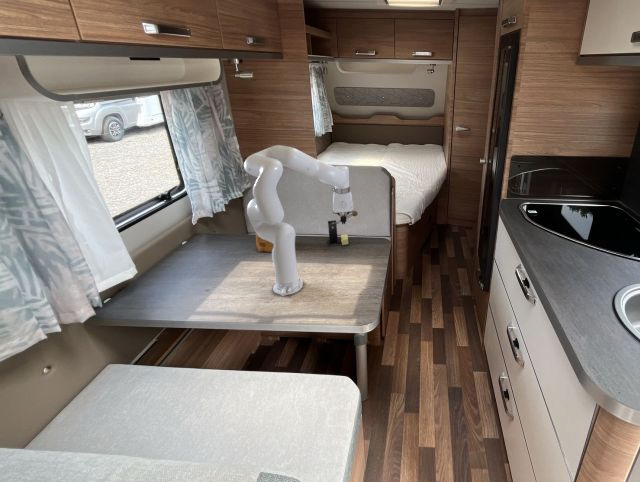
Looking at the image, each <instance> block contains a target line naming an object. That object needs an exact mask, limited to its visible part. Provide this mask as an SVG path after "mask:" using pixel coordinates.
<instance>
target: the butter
mask: <svg viewBox="0 0 640 482" xmlns="http://www.w3.org/2000/svg"><path fill="white" fill-rule="evenodd" d="M340 240H341V241H340V242H341V246H344V245H349V236H348V233H342V234H340Z"/></svg>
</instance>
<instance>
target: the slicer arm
mask: <svg viewBox="0 0 640 482" xmlns="http://www.w3.org/2000/svg"><path fill="white" fill-rule="evenodd" d="M353 211H354V212H352V213H349V214H348V215H347V217H346V220H348V219H349V218H352V217H357V216H358V214H359V213H358V211H357V210H353ZM333 223H334V222H332V223H330V224H333ZM335 223H336V224H337V225H338V224H340V223H342V222H341V219H338V220H336V222H335Z"/></svg>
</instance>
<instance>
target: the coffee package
mask: <svg viewBox="0 0 640 482" xmlns="http://www.w3.org/2000/svg"><path fill="white" fill-rule="evenodd" d="M255 242H256V243H255V244H256V247H257V251H258V253H261V252H266V253H272V250H273V248H274V244H273V243H271V242H269V241H267V240H264V239H262V238H260V237H259V236H258V235H257V234H256V233H255Z"/></svg>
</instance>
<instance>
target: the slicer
mask: <svg viewBox="0 0 640 482" xmlns="http://www.w3.org/2000/svg"><path fill="white" fill-rule="evenodd" d="M332 222H334V223H333V224H330V223H332ZM335 222H337V220H336V219H335V220H327V226H328V244H329V245H336V244H339V238H338V228H337V226H338V224H336V223H335Z"/></svg>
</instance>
